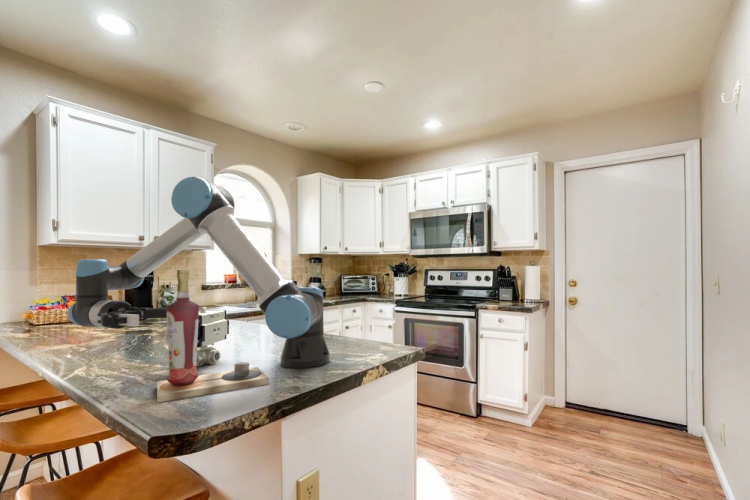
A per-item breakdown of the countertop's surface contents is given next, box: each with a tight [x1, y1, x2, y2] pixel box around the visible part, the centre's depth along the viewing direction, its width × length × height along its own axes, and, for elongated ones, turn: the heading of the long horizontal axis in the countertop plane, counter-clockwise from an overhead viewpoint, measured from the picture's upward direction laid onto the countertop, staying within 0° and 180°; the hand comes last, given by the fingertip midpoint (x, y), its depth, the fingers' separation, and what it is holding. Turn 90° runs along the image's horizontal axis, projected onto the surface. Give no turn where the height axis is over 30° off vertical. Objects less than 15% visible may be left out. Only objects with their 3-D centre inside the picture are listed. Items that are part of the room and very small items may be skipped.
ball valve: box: [196, 306, 230, 367], centre depth 123 cm, size 18×8×18 cm, turn 168°
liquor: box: [165, 269, 200, 386], centre depth 96 cm, size 7×7×28 cm
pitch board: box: [156, 361, 270, 403], centre depth 99 cm, size 25×13×4 cm, turn 119°
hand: (163, 317), depth 99 cm, fingers open, 13 cm apart
